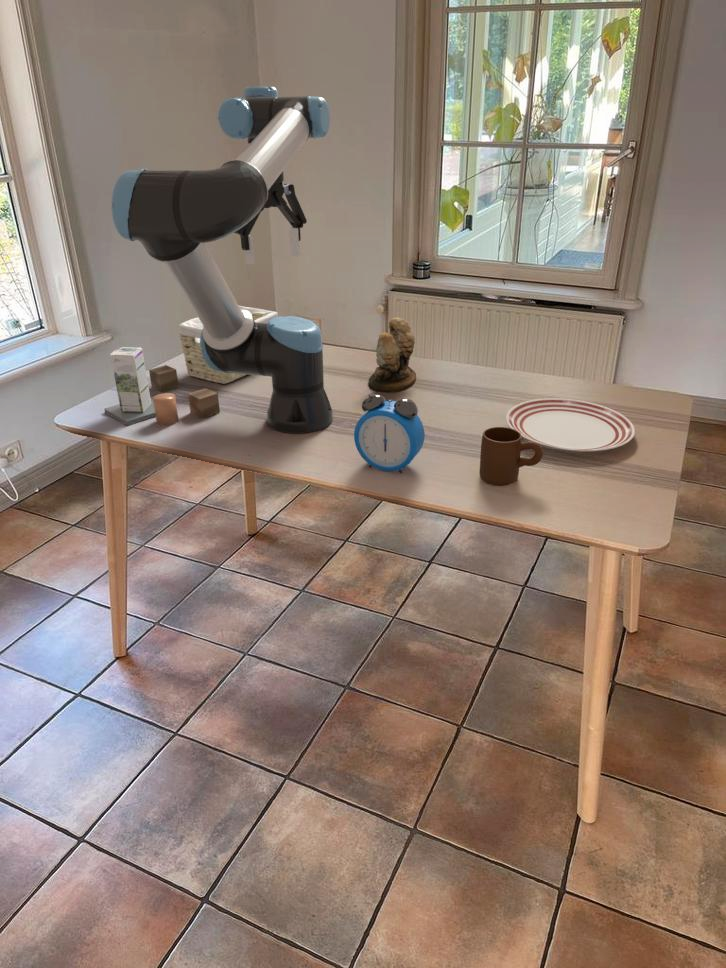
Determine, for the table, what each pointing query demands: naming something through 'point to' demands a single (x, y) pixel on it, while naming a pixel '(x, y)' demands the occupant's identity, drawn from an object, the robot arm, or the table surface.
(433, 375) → the table surface
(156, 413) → the terracotta cylinder
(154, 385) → the dark oak block
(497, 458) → the mug
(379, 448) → the alarm clock
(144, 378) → the syrup box
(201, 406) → the walnut block
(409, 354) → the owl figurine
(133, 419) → the slate tile
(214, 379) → the storage basket
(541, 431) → the dinner plate
